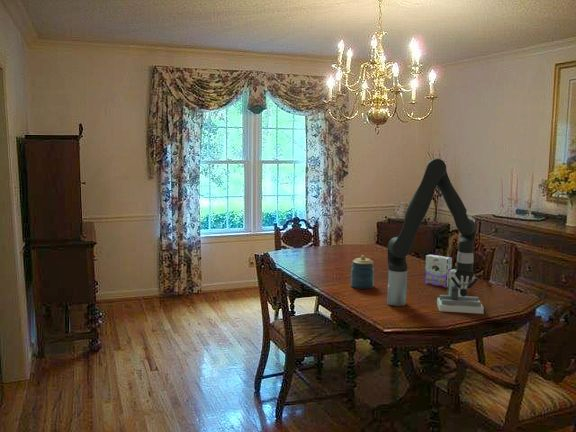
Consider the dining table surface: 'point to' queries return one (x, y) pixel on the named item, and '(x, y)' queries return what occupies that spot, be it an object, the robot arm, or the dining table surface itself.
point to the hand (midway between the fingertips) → (462, 296)
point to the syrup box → (452, 281)
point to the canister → (362, 273)
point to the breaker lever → (453, 292)
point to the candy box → (437, 270)
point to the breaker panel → (459, 308)
